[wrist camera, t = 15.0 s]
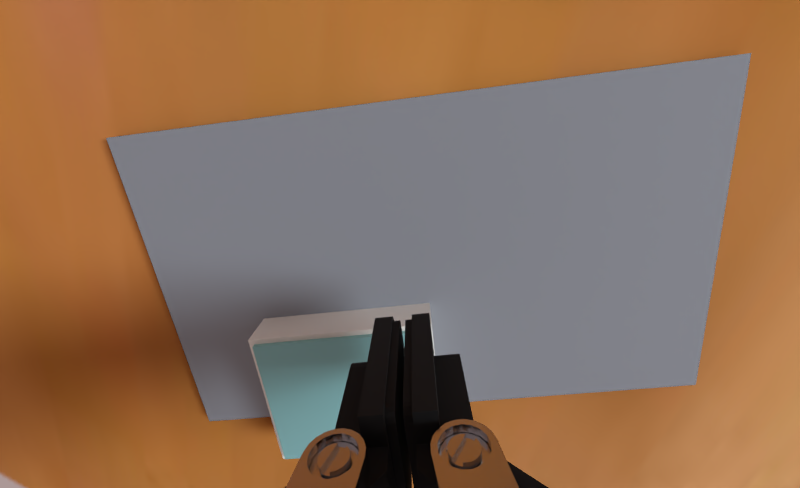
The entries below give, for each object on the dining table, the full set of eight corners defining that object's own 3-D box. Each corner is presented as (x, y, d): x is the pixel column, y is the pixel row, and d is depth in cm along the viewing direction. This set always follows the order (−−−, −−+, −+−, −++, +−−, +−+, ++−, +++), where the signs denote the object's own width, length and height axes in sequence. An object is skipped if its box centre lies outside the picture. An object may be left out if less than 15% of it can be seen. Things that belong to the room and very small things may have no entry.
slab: (263, 318, 16) (294, 429, 18) (245, 343, 14) (281, 463, 16) (429, 302, 15) (442, 418, 17) (431, 326, 13) (445, 451, 15)
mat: (114, 137, 14) (106, 138, 13) (740, 55, 12) (751, 53, 12) (213, 414, 18) (209, 421, 18) (689, 378, 16) (695, 384, 16)
